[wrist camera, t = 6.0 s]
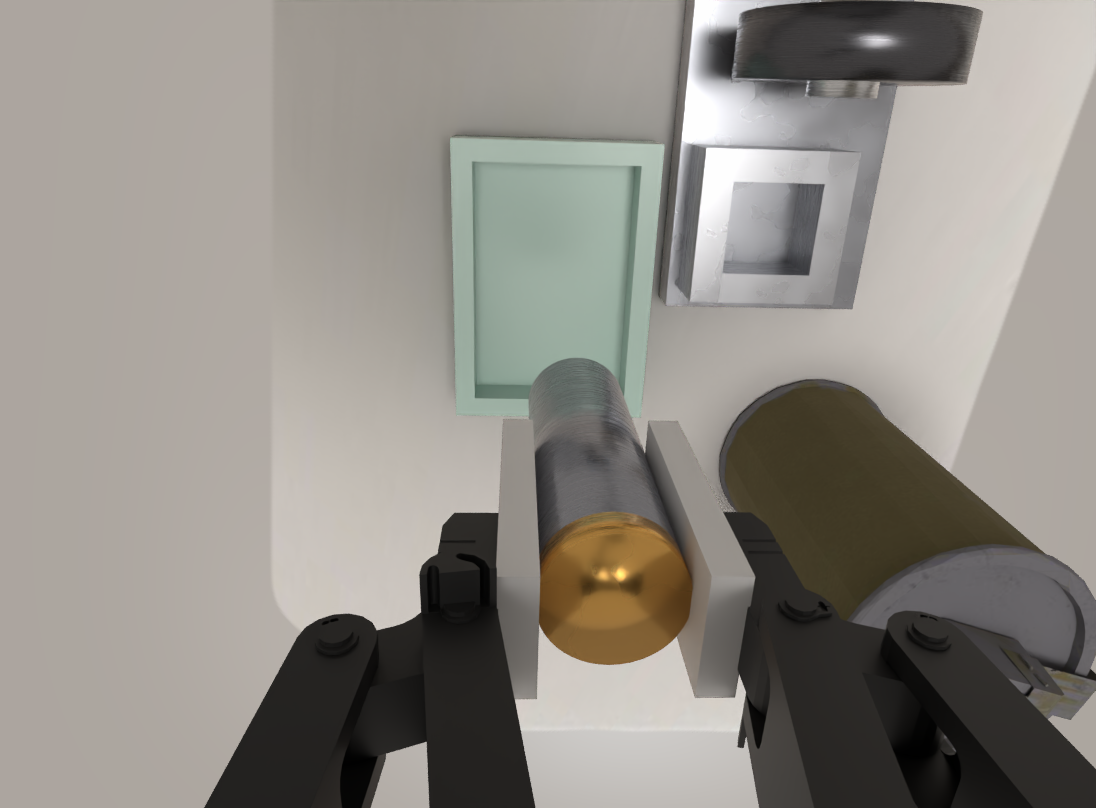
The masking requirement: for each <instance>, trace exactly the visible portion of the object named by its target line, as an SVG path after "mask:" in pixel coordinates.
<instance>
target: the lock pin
mask: <svg viewBox="0 0 1096 808" xmlns="http://www.w3.org/2000/svg"><path fill="white" fill-rule="evenodd" d="M528 408H529V420H533V432H534V453H535V475H536V496H537V518H538V539H539V560H540V603H539V624H540V627H541V629H542V630H543V632H544V634H545V635H546V636H547V638H548V639H549V640H550V641H551V642H552V643H553V644H554V645H555V646H556V647H557V648H558V649H560V650H561V651H563V652H564V653H566V654H568V655H570V656H571V657H574V658H576V659H579V660H582V661H585V662H589V663H595V664H604V665H614V664H624V663H630V662H634V661H637V660H640V659H643V658H646V657H648V656H650V655H652V654H654V653H656V652H658V651H659V650H661V649H662V648H664V647H665V646H667V645H668V644H669V643H670V642H671V641H673V639H674V638H675V637H676V636H677V635H678V634H679V633H680V631H681V630H682V629H683V627H684V626H685V624H686V622H687V620H688V618H689V614H690V606H691V598H692V590H693V586H692V582H691V578H690V575H689V573H688V570H687V567H686V565H685V562H684V559H683V556H682V554H681V551H680V548H679V545H678V543H677V540H676V537H675V535H674V532H673V529H672V526H671V524H670V521H669V518H668V516H667V513H666V510H665V507H664V505H663V502H662V499H661V497H660V494H659V491H658V488H657V486H656V483H655V480H654V477H653V475H652V472H651V469H650V467H649V464H648V461H647V458H646V456H645V453H644V450H643V448H642V445H641V442H640V439H639V437H638V434H637V431H636V428H635V426H634V423H633V420H632V418H631V415H630V412H629V409H628V407H627V404H626V401H625V399H624V396H623V393H622V390H621V388H620V385H619V383H618V381H617V379H616V378H615V376H614V375H613V374H612V372H611V371H610V370H608V369H607V368H606V367H605V366H603V365H602V364H600V363H598V362H596V361H593V360H590V359H586V358H568V359H563V360H560V361H557V362H555V363H553V364H551V365H550V366H548V367H547V368H546V369H544V370H543V371H542V372H541V373H540V374H539V375H538V377H537V378H536V379H535V381H534V383H533V385H532V387H531V389H530V393H529V399H528Z"/></svg>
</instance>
